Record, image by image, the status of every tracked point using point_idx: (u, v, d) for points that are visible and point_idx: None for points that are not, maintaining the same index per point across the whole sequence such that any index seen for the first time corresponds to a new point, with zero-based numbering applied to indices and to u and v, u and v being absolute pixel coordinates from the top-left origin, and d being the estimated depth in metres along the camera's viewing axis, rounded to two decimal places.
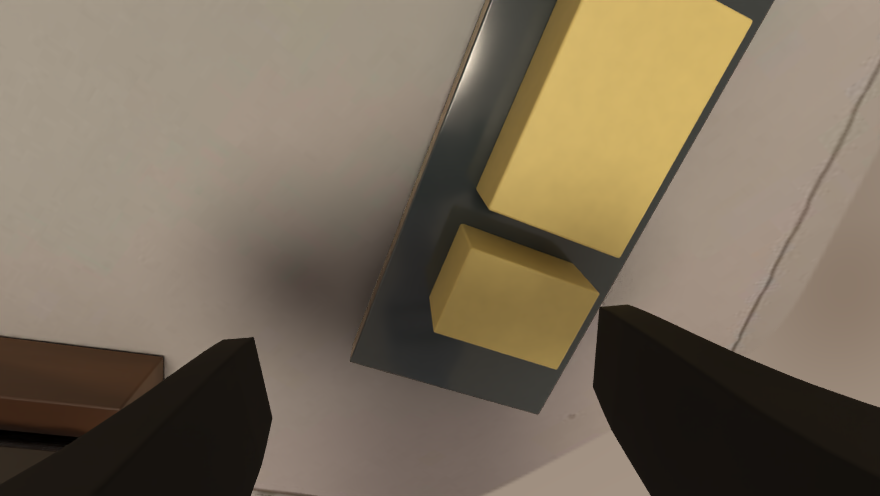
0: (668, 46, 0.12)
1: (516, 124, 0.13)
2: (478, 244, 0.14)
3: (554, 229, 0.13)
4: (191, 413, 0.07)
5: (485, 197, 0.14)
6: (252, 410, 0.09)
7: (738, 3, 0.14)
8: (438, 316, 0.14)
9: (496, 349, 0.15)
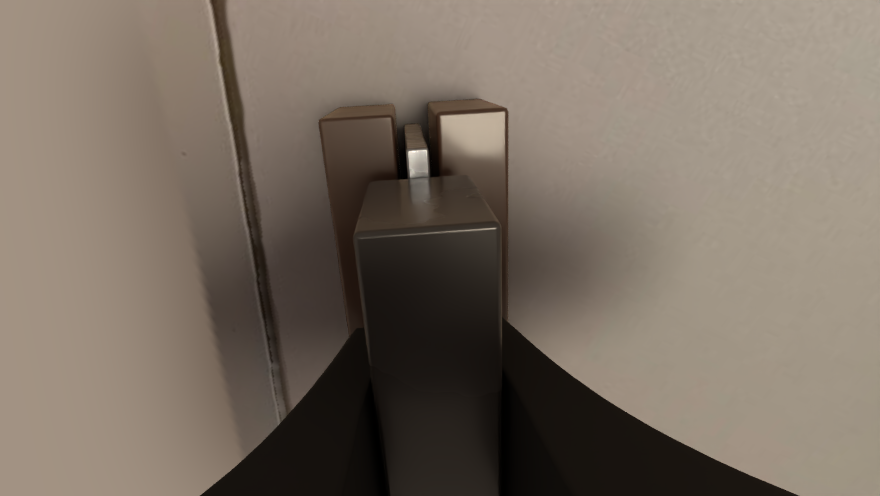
0: None
1: None
2: None
3: None
4: (370, 396, 0.07)
5: None
6: None
7: None
8: None
9: None
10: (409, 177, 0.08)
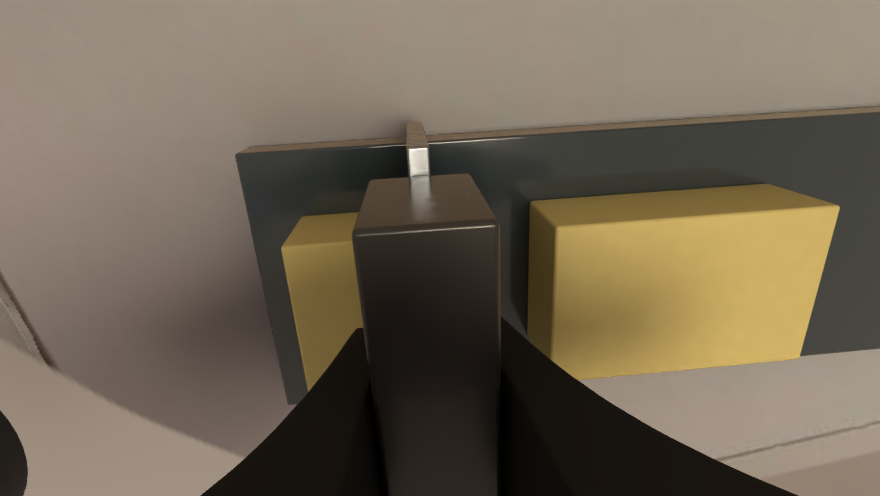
0: (765, 306, 0.12)
1: (637, 208, 0.12)
2: None
3: (559, 305, 0.11)
4: (370, 395, 0.07)
5: (553, 216, 0.11)
6: None
7: None
8: (304, 242, 0.10)
9: (300, 329, 0.11)
10: (410, 175, 0.08)
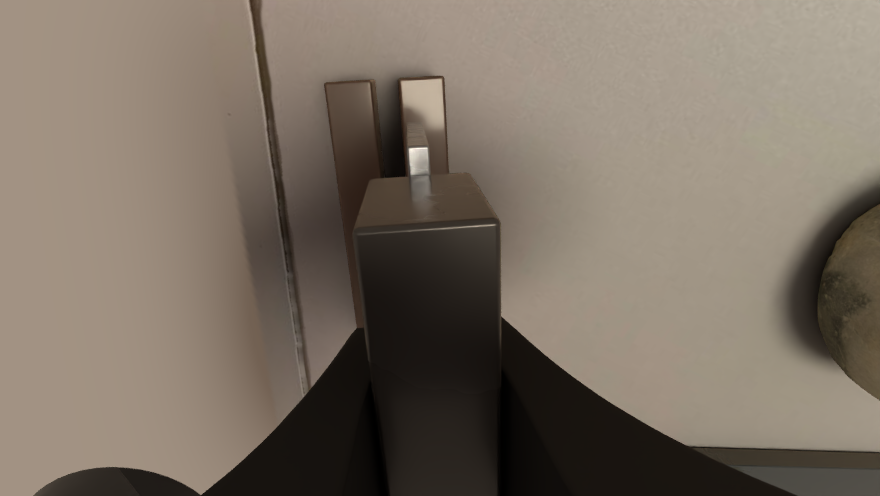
0: None
1: None
2: None
3: None
4: (370, 395, 0.07)
5: None
6: None
7: None
8: None
9: None
10: (410, 174, 0.08)
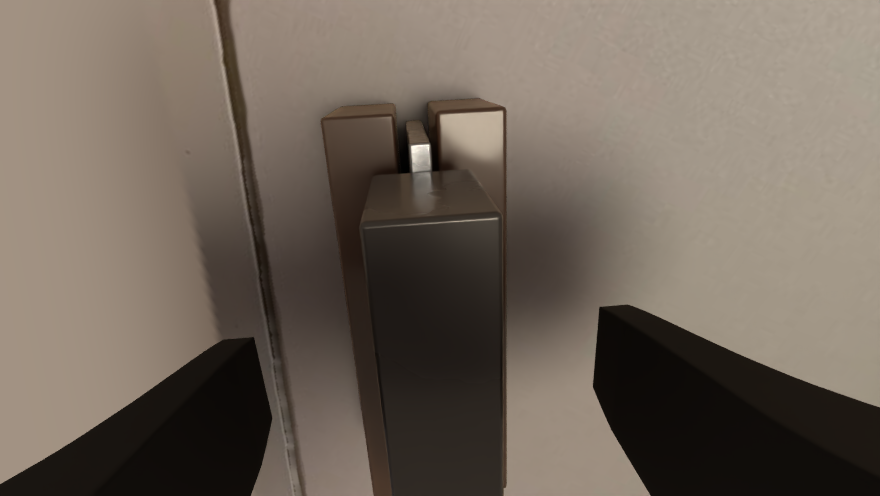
0: None
1: None
2: None
3: None
4: (191, 413, 0.07)
5: None
6: (252, 410, 0.09)
7: None
8: None
9: None
10: (412, 171, 0.08)
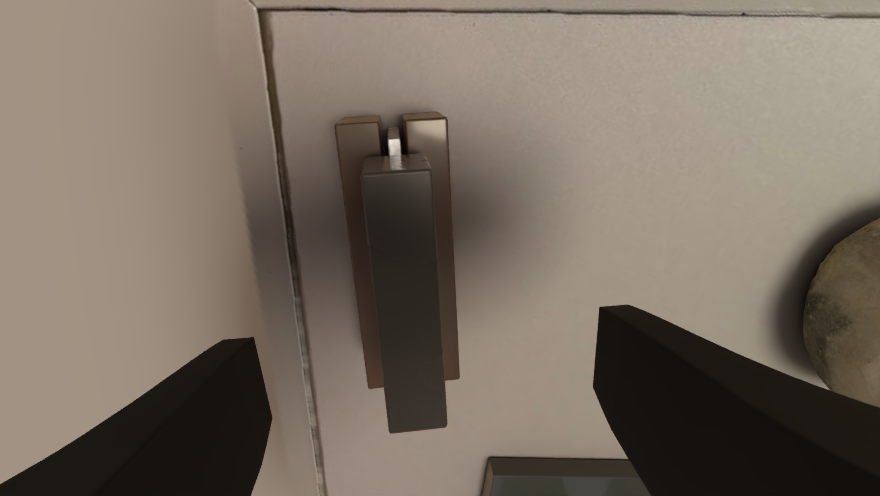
0: None
1: None
2: None
3: None
4: (191, 412, 0.07)
5: None
6: (252, 410, 0.09)
7: None
8: None
9: None
10: (389, 155, 0.14)
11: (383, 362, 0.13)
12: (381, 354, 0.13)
